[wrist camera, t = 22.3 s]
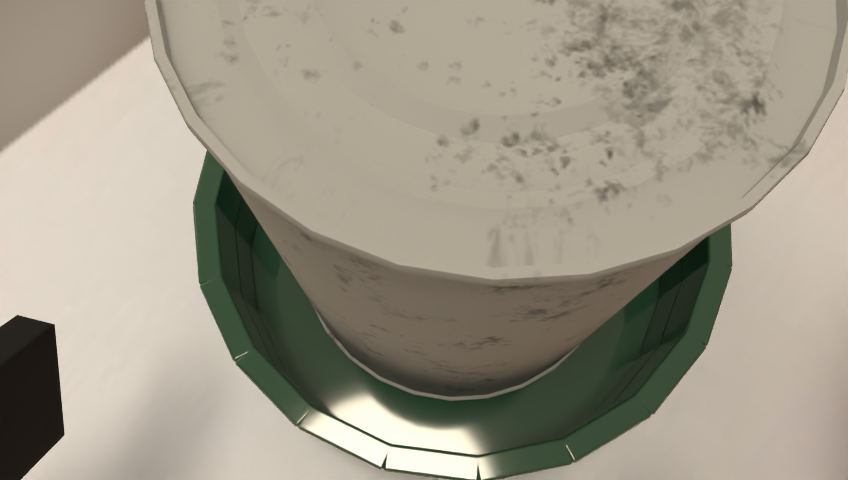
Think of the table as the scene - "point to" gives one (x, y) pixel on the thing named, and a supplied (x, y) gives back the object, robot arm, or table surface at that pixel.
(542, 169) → the dirty tin can
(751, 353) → the table surface
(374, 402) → the green bowl
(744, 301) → the table surface
